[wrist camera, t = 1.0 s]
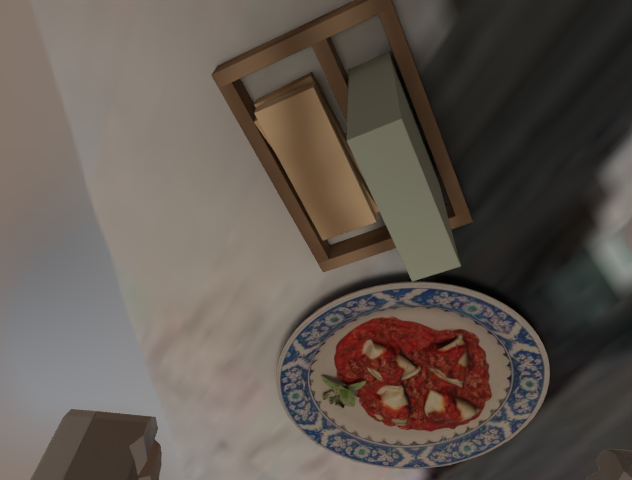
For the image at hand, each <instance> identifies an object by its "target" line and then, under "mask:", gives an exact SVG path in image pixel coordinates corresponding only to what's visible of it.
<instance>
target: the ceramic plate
mask: <svg viewBox="0 0 632 480" xmlns="http://www.w3.org/2000/svg"><path fill="white" fill-rule="evenodd" d="M549 376H550V371H549V361H548V357H547V353H546V351H545V348H544V345H543V343H542V342H541V340H540V338H539V336H538V335H537V333H536V332H535V331H534V329H533V328H532V327H531V325H530V324H529V323H528V322H527V321H526V320H525V319H524V318H523V317H522V316H520V315H519V314H518V313H517V312H516V311H514V310H513V309H511V308H510V307H508V306H507V305H505V304H504V303H502V302H500V301H498V300H496V299H495V298H493V297H490V296H488V295H486V294H483V293H481V292H478V291H475V290H472V289H469V288H465V287H461V286H456V285H452V284H445V283H438V282H423V281H413V282H396V283H388V284H382V285H376V286H372V287H368V288H364V289H361V290H358V291H355V292H352V293H349V294H347V295H344V296H342V297H340V298H337V299H335V300H333V301H332V302H330V303H328V304H326V305H325V306H323V307H321V308H319V309H318V310H317V311H315V312H314V313H313V314H312V315H310V316H309V317H308V318H307V319H305V320H304V321H303V322H302V323H301V324H300V325H299V326H298V327H297V328H296V330H295V331H294V332H293V333H292V335H291V336H290V337H289V339H288V341H287V343H286V344H285V346H284V348H283V351H282V353H281V355H280V358H279V362H278V366H277V373H276V384H277V390H278V395H279V398H280V401H281V403H282V406H283V408H284V410H285V411H286V413H287V415H288V416H289V418H290V419H291V420H292V422H293V423H294V424H295V426H296V427H297V428H298V429H299V430H300V431H301V432H303V433H304V434H305V435H306V436H307V437H308V438H310V439H311V440H312V441H314V442H315V443H316V444H318V445H319V446H321V447H323V448H325V449H327V450H329V451H331V452H333V453H335V454H337V455H340V456H342V457H345V458H348V459H350V460H353V461H356V462H360V463H364V464H369V465H374V466H380V467H387V468H401V469H419V468H429V467H439V466H445V465H451V464H454V463H458V462H461V461H465V460H468V459H471V458H474V457H477V456H480V455H483V454H485V453H487V452H489V451H491V450H493V449H495V448H496V447H498V446H500V445H502V444H503V443H505V442H507V441H508V440H510V439H512V438H513V437H514V436H515V435H516V434H517V433H519V432H520V431H521V430H522V429H523V428H524V427H525V426H526V425H527V424H528V423H529V422H530V421H531V420H532V419H533V417H534V416H535V415H536V413H537V411H538V410H539V408H540V406H541V404H542V403H543V401H544V398H545V395H546V393H547V389H548V385H549Z"/></svg>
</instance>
